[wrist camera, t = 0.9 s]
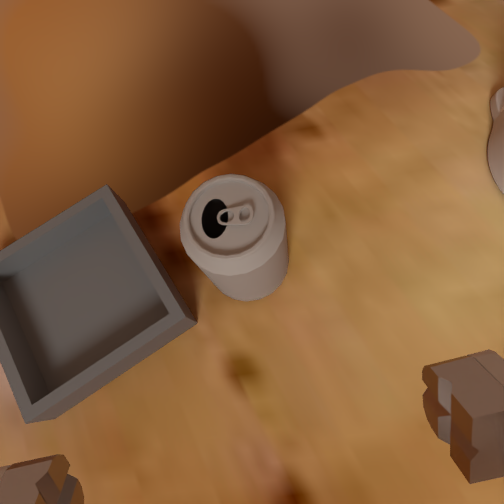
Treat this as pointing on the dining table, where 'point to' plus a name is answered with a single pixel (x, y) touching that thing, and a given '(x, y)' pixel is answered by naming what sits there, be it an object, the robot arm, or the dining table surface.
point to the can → (237, 236)
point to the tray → (82, 305)
